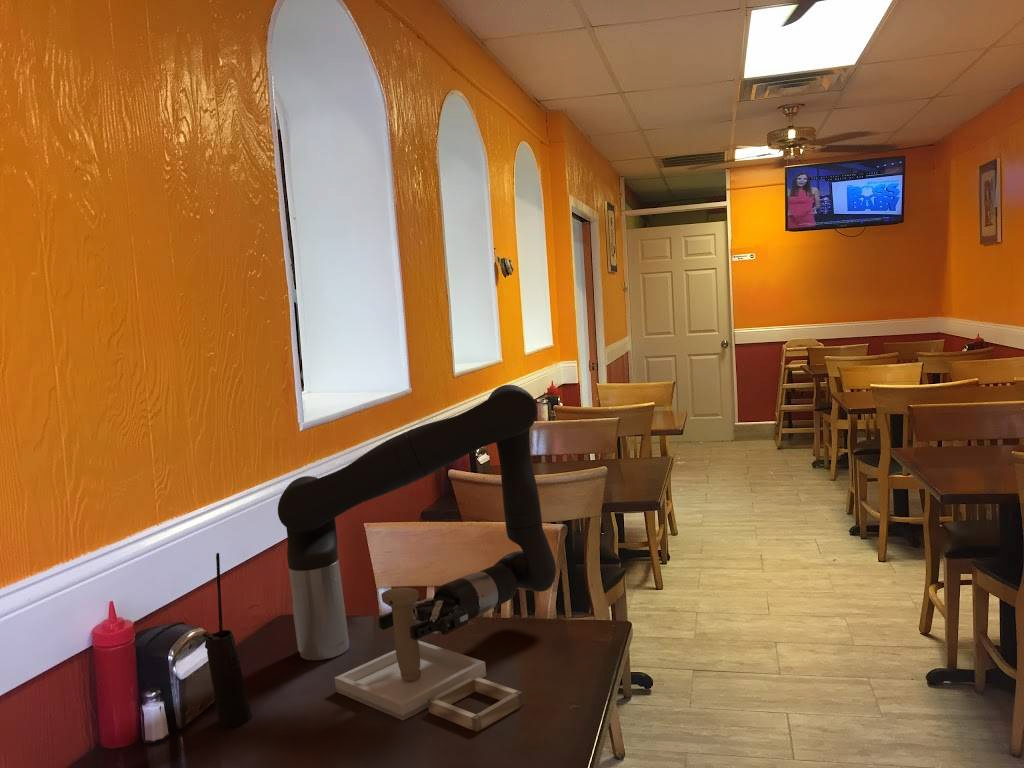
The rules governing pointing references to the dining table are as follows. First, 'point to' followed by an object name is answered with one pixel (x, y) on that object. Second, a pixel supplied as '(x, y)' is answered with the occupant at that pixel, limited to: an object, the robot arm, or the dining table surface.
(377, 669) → the tray
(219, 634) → the butter churn
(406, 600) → the handle
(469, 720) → the wooden square frame
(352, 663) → the dining table surface
